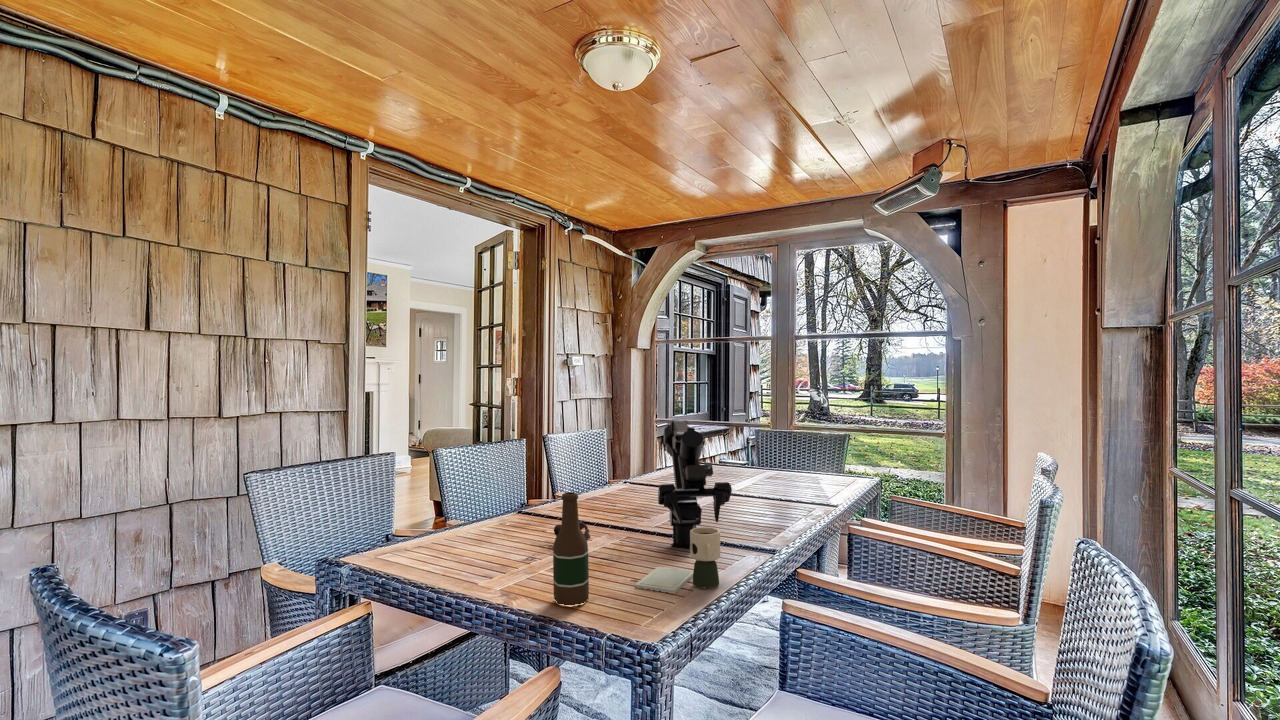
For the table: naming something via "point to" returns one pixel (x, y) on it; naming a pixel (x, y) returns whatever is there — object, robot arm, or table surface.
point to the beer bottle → (570, 556)
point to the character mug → (705, 556)
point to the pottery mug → (582, 525)
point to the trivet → (665, 579)
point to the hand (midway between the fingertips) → (699, 522)
